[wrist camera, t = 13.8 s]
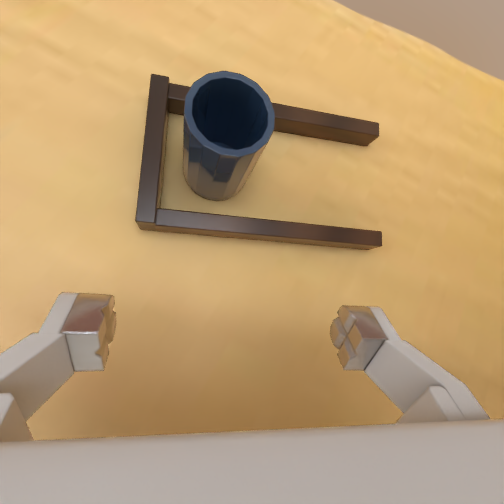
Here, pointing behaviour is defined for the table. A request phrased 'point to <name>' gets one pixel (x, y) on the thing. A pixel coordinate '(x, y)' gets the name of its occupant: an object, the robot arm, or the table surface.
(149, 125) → the walnut slide track
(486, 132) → the table surface
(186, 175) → the pen cup
